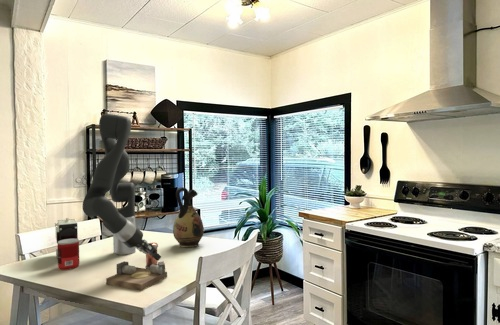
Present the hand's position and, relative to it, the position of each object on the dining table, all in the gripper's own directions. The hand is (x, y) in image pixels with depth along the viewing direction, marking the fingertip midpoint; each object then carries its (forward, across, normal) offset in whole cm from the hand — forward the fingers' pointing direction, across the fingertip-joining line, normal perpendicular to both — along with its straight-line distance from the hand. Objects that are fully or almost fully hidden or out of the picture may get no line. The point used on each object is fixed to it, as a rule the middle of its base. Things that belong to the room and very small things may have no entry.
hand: (155, 257), depth 142 cm
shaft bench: (-6, -8, +12) cm, 16 cm away
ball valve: (-11, +45, +17) cm, 49 cm away
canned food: (-14, +28, +20) cm, 37 cm away
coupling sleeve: (+2, 0, +4) cm, 5 cm away
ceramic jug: (+24, +19, -18) cm, 35 cm away
